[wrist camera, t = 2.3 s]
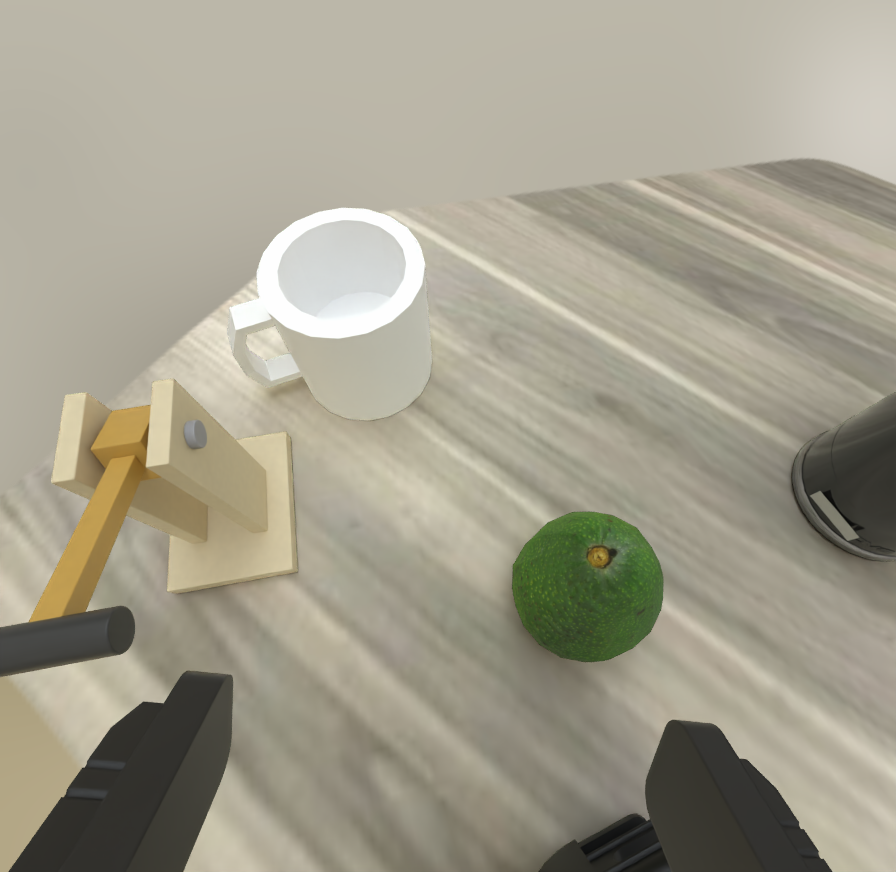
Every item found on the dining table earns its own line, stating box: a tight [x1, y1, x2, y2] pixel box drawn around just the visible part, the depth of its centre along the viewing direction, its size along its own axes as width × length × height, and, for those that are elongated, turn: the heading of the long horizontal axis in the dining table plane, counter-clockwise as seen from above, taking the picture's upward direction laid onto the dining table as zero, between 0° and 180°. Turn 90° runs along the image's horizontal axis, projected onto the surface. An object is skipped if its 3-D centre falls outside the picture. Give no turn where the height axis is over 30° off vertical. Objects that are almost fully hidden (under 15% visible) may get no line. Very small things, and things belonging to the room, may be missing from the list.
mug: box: [227, 208, 432, 421], centre depth 35 cm, size 14×10×11 cm
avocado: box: [512, 512, 663, 662], centre depth 27 cm, size 8×8×12 cm
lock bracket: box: [51, 379, 298, 594], centre depth 29 cm, size 10×8×14 cm
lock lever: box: [0, 405, 162, 677], centre depth 20 cm, size 12×5×2 cm, turn 10°
